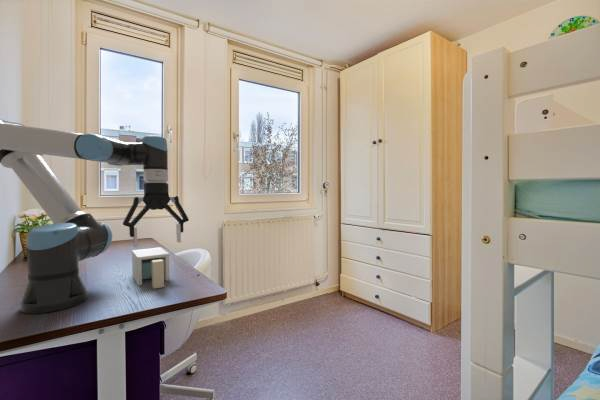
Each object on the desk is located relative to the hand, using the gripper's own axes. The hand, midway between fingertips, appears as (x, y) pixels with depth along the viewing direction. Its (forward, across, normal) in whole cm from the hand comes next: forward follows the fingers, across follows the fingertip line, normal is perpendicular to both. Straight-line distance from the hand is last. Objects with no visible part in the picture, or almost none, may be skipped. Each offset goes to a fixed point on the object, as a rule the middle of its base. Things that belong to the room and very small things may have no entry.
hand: (158, 244), depth 101 cm
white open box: (+15, 0, +14) cm, 20 cm away
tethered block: (+15, 0, +9) cm, 17 cm away
